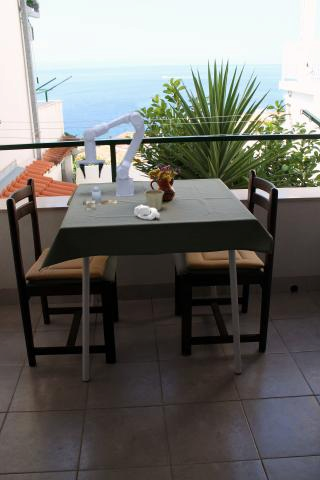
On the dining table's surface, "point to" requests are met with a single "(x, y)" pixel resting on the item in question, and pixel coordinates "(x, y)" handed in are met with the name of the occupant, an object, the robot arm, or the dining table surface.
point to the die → (90, 205)
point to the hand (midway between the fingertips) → (92, 177)
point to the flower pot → (154, 198)
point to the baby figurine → (146, 212)
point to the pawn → (96, 195)
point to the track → (103, 202)
